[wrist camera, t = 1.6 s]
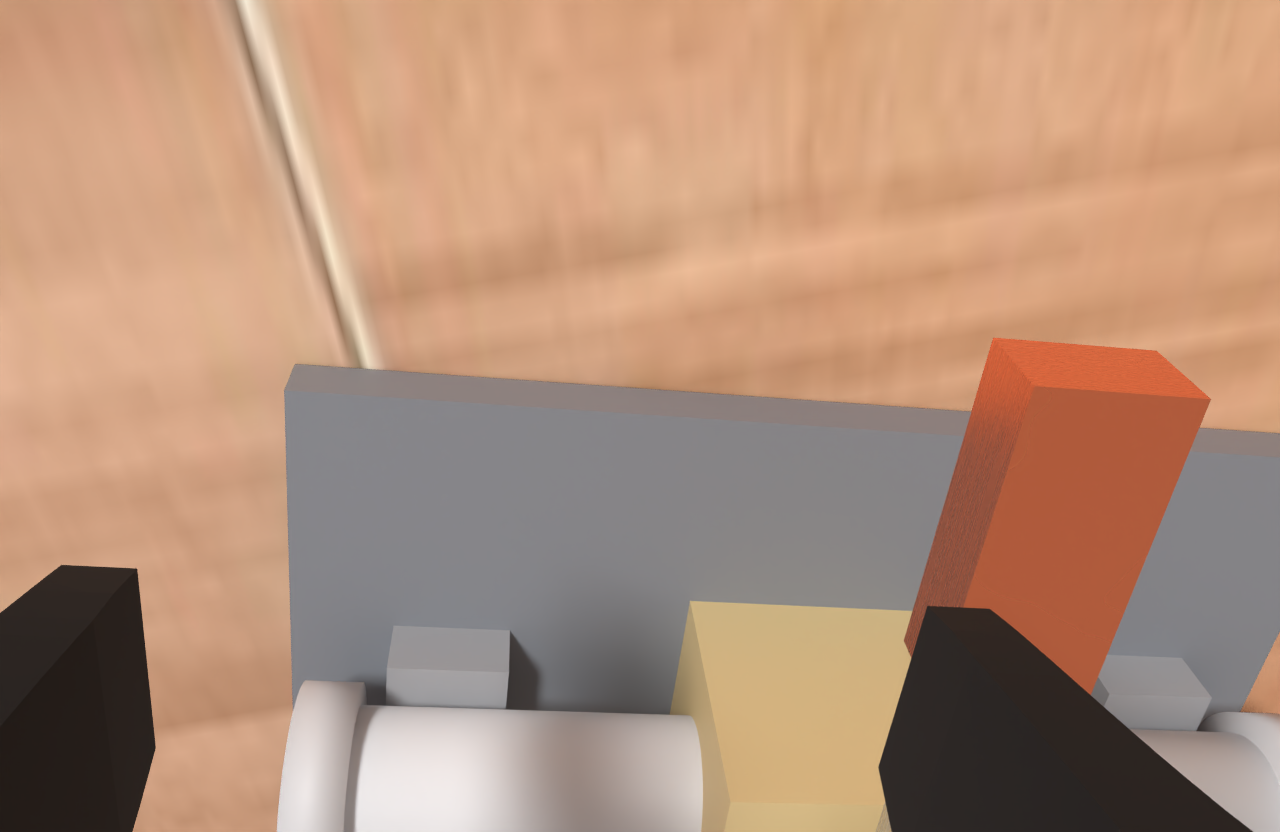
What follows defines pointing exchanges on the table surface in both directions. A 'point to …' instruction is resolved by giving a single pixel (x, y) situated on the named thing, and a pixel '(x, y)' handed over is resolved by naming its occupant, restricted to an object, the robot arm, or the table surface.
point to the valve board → (688, 607)
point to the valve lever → (1060, 494)
